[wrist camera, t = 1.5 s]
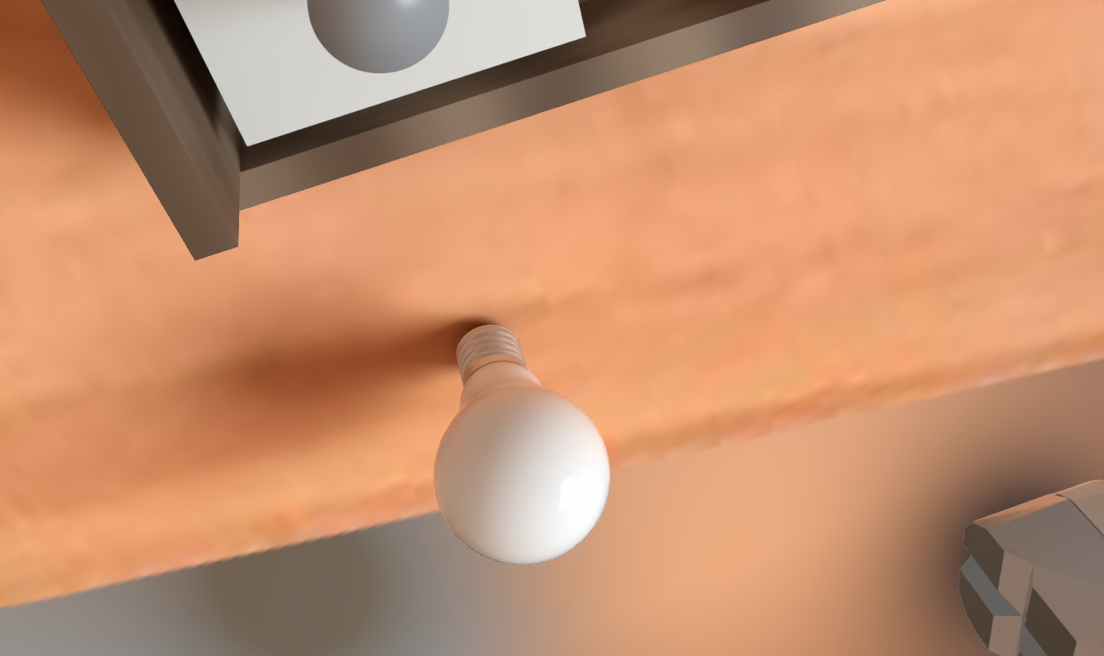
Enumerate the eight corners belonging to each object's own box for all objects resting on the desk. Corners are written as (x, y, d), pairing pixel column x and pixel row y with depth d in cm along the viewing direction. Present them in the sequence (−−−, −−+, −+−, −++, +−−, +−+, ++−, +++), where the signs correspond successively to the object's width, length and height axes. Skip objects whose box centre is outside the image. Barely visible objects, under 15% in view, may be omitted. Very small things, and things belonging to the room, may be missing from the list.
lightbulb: (382, 319, 40) (415, 528, 32) (526, 254, 40) (597, 448, 32) (447, 417, 44) (491, 625, 36) (579, 359, 44) (653, 556, 36)
